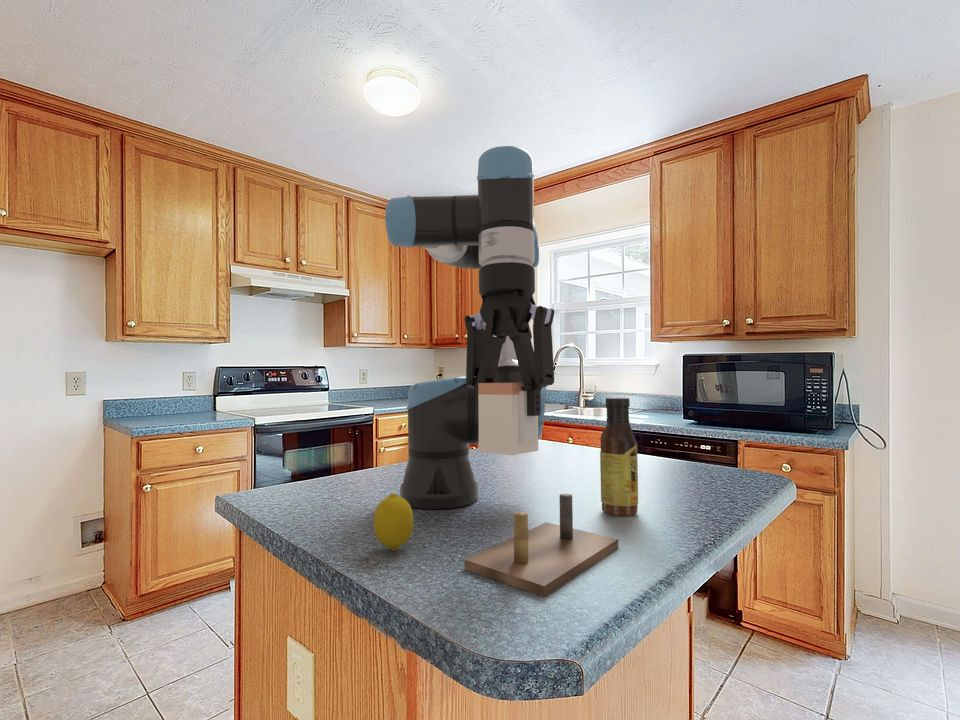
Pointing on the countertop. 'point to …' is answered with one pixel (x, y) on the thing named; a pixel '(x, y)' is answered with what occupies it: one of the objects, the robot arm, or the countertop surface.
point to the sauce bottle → (618, 461)
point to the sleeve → (501, 419)
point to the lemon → (393, 521)
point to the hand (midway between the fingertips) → (508, 439)
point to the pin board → (542, 553)
